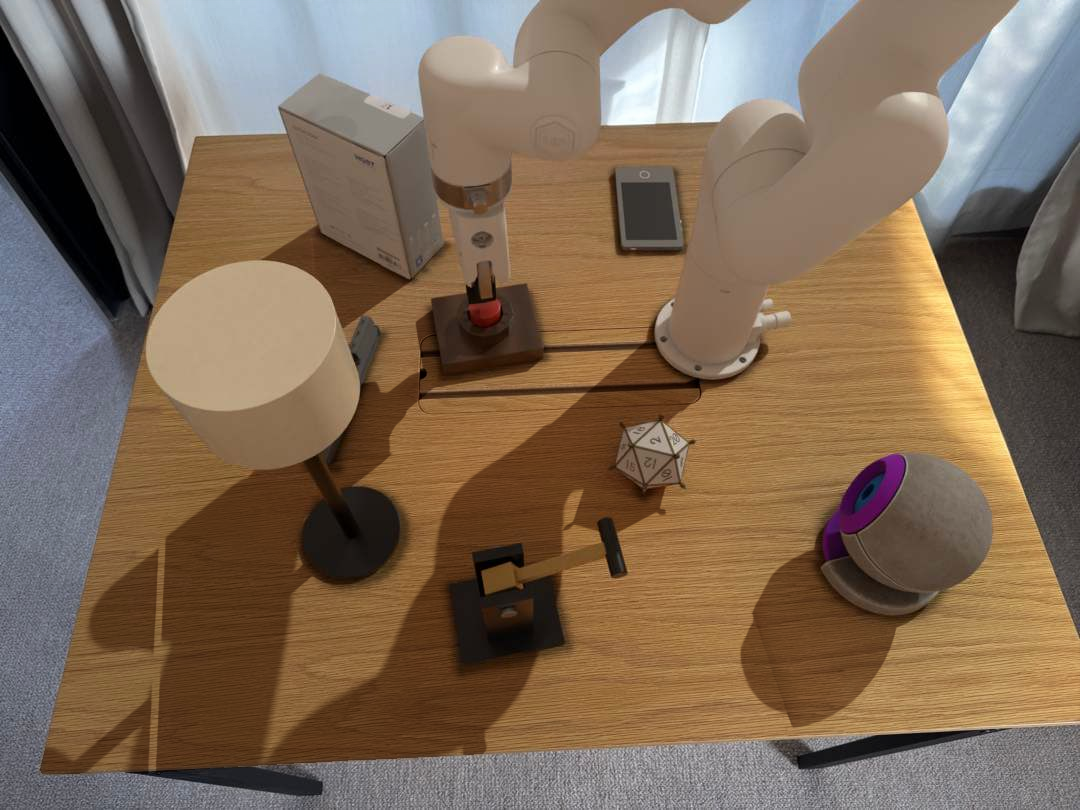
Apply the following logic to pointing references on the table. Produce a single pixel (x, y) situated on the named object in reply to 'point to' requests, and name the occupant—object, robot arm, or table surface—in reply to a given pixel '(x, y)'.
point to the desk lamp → (273, 394)
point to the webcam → (906, 533)
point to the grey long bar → (358, 363)
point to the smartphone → (648, 208)
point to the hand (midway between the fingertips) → (481, 297)
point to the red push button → (485, 313)
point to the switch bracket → (504, 612)
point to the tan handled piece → (559, 563)
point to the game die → (652, 454)
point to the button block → (487, 332)
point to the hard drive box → (365, 172)
